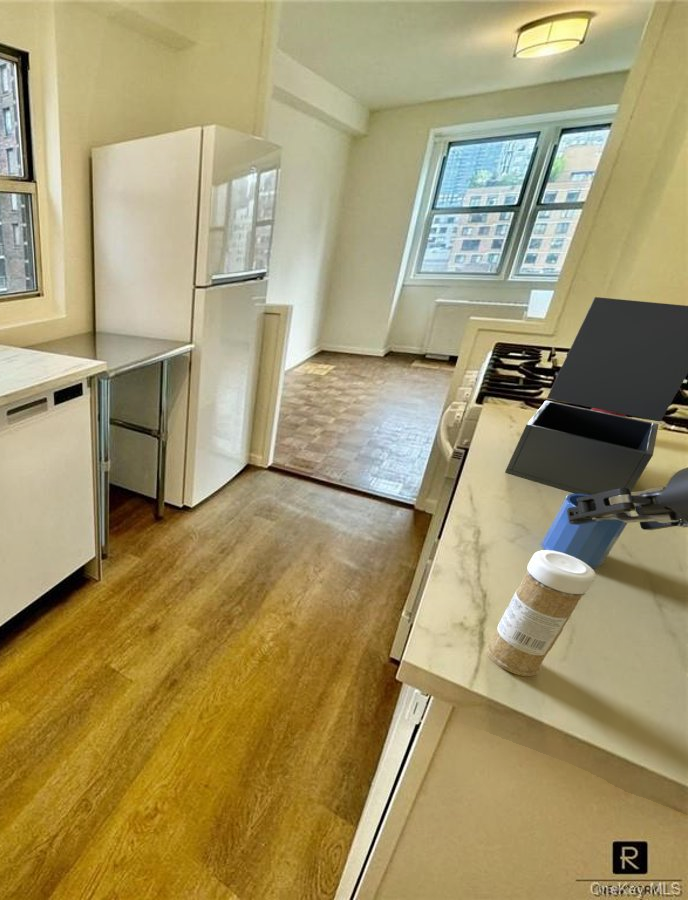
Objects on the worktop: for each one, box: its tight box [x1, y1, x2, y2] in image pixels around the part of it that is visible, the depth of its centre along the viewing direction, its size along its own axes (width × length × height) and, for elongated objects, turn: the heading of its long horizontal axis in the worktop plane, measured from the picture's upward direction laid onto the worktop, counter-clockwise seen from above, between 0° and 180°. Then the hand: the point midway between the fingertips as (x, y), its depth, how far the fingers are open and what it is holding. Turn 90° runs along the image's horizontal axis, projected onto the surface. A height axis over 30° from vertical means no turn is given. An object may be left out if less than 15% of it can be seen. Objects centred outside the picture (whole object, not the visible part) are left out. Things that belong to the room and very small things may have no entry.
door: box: [546, 296, 688, 423], centre depth 88 cm, size 20×16×1 cm
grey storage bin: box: [504, 400, 659, 495], centre depth 88 cm, size 19×16×10 cm
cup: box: [541, 493, 632, 569], centre depth 67 cm, size 6×6×8 cm
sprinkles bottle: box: [485, 549, 597, 677], centre depth 49 cm, size 5×5×13 cm
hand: (606, 519), depth 64 cm, fingers open, 8 cm apart
